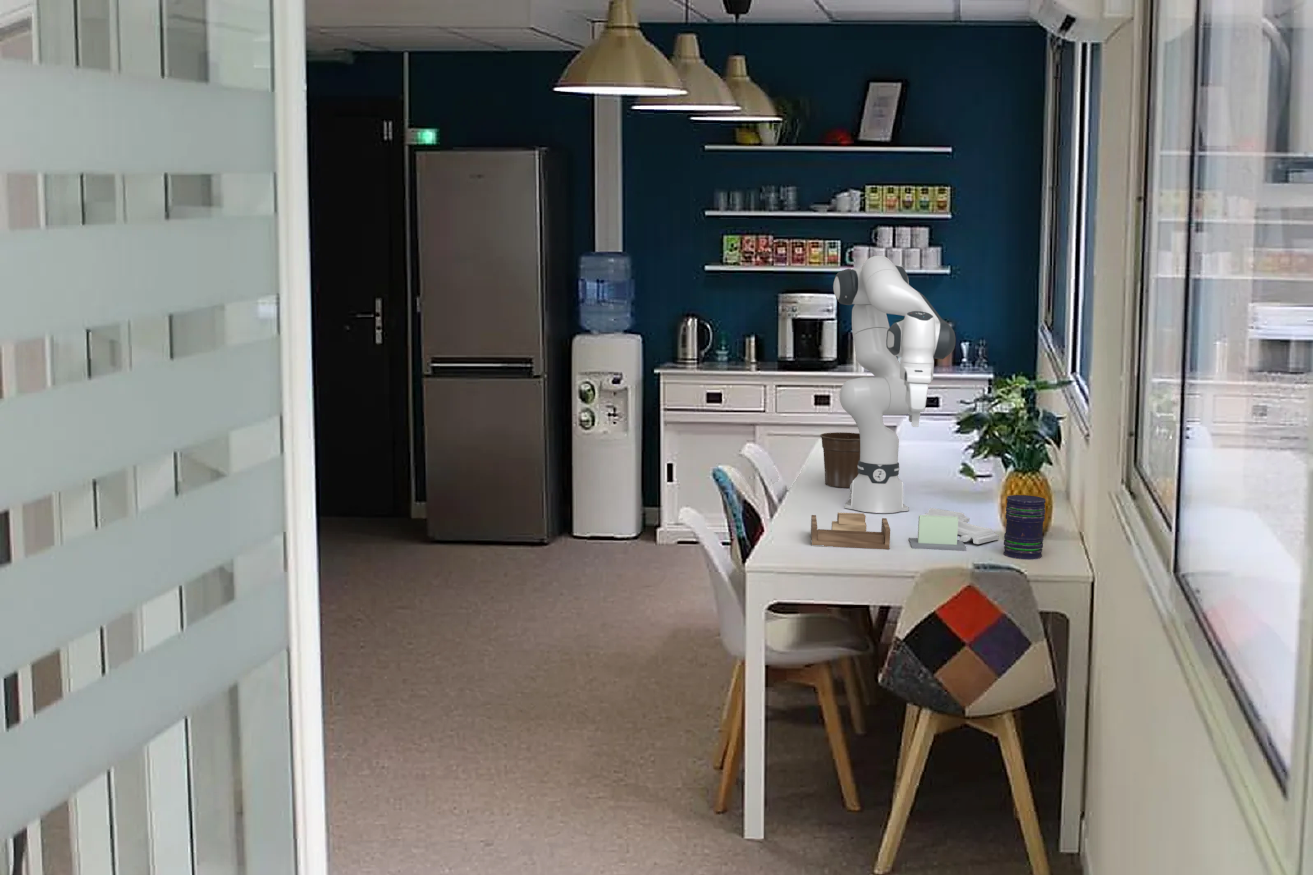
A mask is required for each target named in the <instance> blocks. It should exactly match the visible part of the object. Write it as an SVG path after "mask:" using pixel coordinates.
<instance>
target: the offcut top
mask: <svg viewBox="0 0 1313 875" xmlns="http://www.w3.org/2000/svg"><path fill="white" fill-rule="evenodd" d="M836 516H837V518H836V521H837V522H838V524H849V525H865V522H866V518H867V517H866V515H865V513H864V512H863V513H861V512H837V514H836Z"/></svg>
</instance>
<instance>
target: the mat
mask: <svg viewBox="0 0 1313 875" xmlns="http://www.w3.org/2000/svg"><path fill="white" fill-rule="evenodd" d="M908 542H909V544H910V547H911V549H924V550H925V549H926V550H942V551H943V550H944V551H967V547H966V545H965V542H963V541H960V539H957V545H953V544H931V543H918V537H908Z"/></svg>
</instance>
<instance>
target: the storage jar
mask: <svg viewBox="0 0 1313 875" xmlns="http://www.w3.org/2000/svg"><path fill="white" fill-rule="evenodd" d="M1045 503H1046V499H1045V498H1044V497H1041V496H1036V495H1035V496H1034V495H1025V494H1023V495H1022V494H1012V495H1008V496H1006V506H1005V519H1006V522H1005V523H1006V524H1005V525H1006V526H1005V532H1004V536H1003V538H1004V539H1003V549H1004V550H1003V556H1005V557H1007V558H1011V559H1015V560H1016V559H1017V560H1025V561H1026V560H1032V561H1033V560H1040V559H1042V558H1043V554H1042V552H1043V548H1044V535H1043V531H1044V530H1043V529H1044V522H1045V516H1046V504H1045ZM1041 557H1042V558H1041Z"/></svg>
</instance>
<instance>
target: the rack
mask: <svg viewBox="0 0 1313 875" xmlns="http://www.w3.org/2000/svg"><path fill="white" fill-rule="evenodd" d="M810 516H811V520H810V540H812V543H811V546H812V545H824V546H823V547H827V546H833V547H832V548H850V549H853V548H854V549H855V548H856V549H869V550H870V549H872V550H875V549H877V550H890V546H891V544H890V543H891V528H890V525H889V522H888V518H885V517H882V518H881V530H880V531H867V530H866V531H846V530H832V529H819V528H818V521H817V515H816V514H811V515H810Z"/></svg>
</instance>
